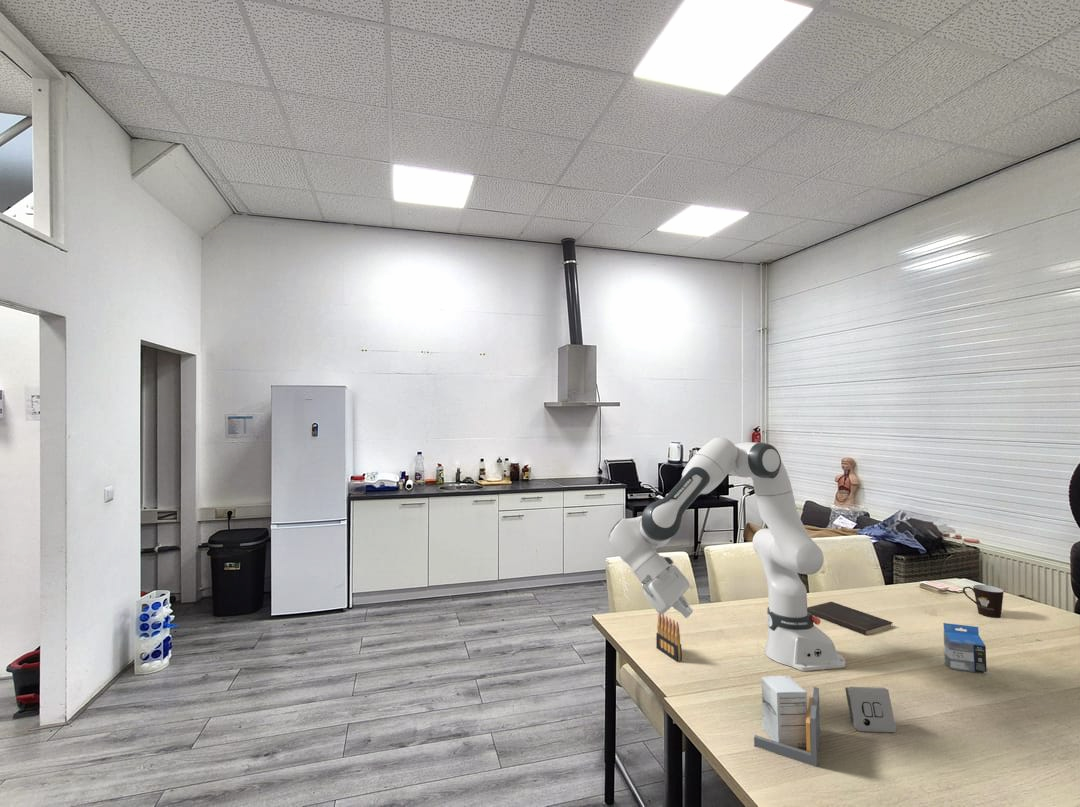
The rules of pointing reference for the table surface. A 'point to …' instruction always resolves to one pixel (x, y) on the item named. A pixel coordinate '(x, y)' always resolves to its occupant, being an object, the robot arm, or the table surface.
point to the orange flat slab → (808, 726)
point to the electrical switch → (870, 709)
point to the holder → (795, 752)
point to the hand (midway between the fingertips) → (689, 614)
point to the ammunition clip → (668, 638)
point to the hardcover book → (849, 618)
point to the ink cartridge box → (964, 649)
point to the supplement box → (784, 710)
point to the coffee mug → (987, 600)
